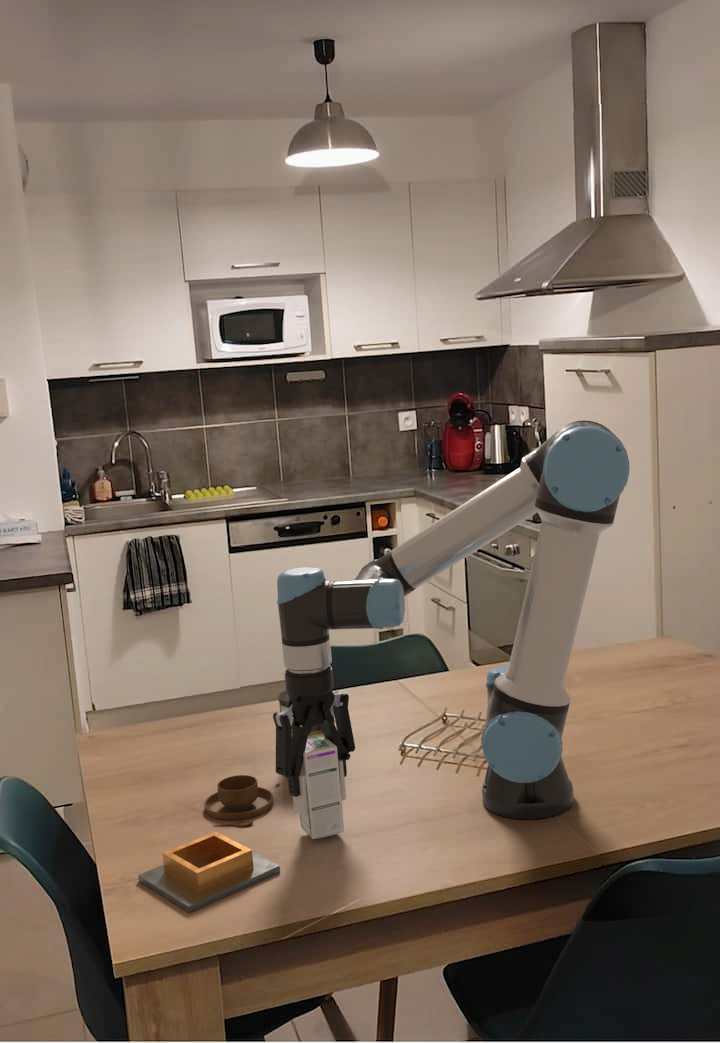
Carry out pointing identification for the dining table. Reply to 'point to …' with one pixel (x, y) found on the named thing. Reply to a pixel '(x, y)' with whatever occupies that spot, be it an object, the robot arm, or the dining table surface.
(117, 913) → the dining table surface
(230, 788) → the place setting
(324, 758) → the syrup box
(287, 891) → the dining table surface
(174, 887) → the wooden box on plate
